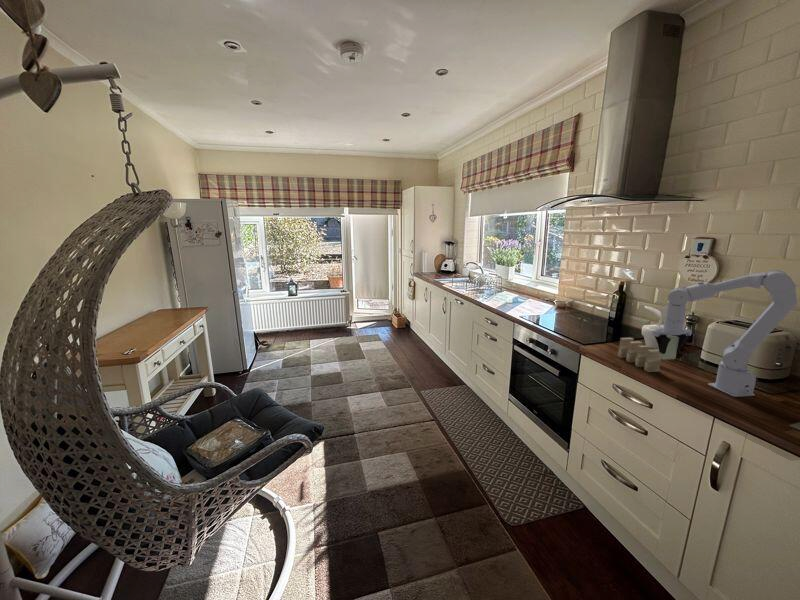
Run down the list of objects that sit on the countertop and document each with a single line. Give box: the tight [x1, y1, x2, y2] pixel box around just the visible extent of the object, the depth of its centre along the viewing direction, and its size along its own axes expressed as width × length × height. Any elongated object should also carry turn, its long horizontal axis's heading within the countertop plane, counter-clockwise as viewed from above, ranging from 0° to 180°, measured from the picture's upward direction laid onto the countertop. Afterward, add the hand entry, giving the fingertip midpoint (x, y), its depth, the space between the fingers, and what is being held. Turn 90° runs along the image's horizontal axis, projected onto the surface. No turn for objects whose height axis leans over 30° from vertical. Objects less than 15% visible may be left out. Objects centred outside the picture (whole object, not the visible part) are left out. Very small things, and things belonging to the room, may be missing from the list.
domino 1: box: [617, 337, 634, 359], centre depth 151 cm, size 2×5×9 cm, turn 95°
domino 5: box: [660, 336, 679, 360], centre depth 131 cm, size 2×5×9 cm, turn 94°
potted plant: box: [641, 299, 672, 349], centre depth 161 cm, size 13×12×25 cm
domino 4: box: [643, 349, 662, 373], centre depth 136 cm, size 2×5×9 cm, turn 95°
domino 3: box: [634, 344, 652, 368], centre depth 141 cm, size 2×5×9 cm, turn 95°
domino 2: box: [625, 340, 643, 363], centre depth 146 cm, size 2×5×9 cm, turn 95°
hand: (668, 352), depth 131 cm, fingers closed on domino 5, 5 cm apart
